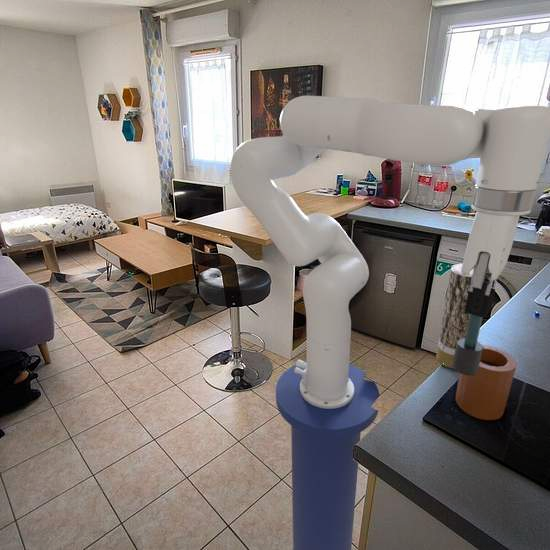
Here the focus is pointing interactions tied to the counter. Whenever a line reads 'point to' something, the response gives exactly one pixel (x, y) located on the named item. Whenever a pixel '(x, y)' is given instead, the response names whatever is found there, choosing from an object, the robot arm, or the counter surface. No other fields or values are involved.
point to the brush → (469, 349)
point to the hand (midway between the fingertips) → (477, 310)
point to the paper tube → (454, 315)
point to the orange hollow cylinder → (487, 385)
